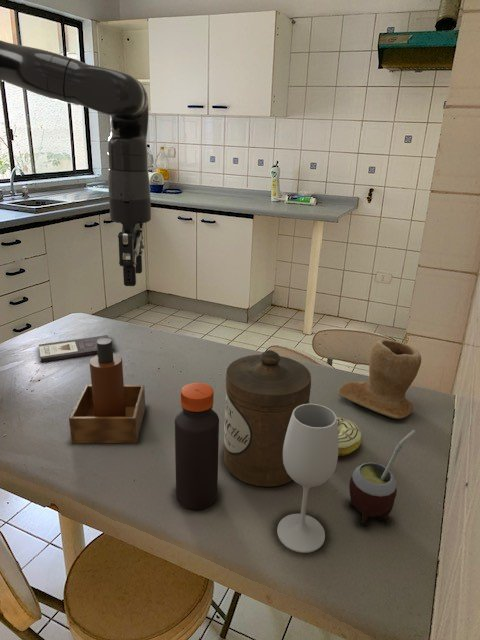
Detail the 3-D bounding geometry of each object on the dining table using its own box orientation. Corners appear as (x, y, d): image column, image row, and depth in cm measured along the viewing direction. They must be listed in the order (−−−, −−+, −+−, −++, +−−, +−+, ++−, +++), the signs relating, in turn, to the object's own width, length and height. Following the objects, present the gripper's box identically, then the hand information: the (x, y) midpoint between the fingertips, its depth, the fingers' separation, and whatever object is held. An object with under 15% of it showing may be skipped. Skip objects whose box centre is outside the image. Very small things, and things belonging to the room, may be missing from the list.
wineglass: (315, 510, 74) (329, 398, 66) (334, 549, 67) (352, 429, 60) (270, 517, 73) (279, 402, 65) (284, 557, 66) (296, 435, 58)
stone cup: (421, 406, 104) (434, 346, 99) (398, 428, 96) (411, 364, 90) (360, 382, 114) (369, 326, 108) (335, 400, 105) (343, 341, 100)
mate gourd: (339, 517, 73) (351, 439, 67) (355, 488, 79) (368, 414, 74) (386, 539, 70) (403, 458, 64) (399, 506, 76) (416, 430, 70)
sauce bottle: (92, 430, 91) (83, 347, 84) (99, 413, 96) (91, 334, 89) (123, 430, 91) (117, 348, 84) (128, 413, 97) (123, 334, 90)
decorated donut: (327, 420, 98) (329, 405, 97) (370, 445, 90) (373, 429, 89) (293, 438, 92) (295, 422, 90) (336, 467, 84) (339, 450, 83)
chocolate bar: (113, 348, 124) (40, 358, 116) (113, 351, 124) (41, 362, 117) (107, 335, 131) (38, 344, 124) (107, 338, 132) (39, 347, 124)
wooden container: (222, 435, 92) (225, 333, 84) (296, 434, 93) (306, 334, 85) (224, 488, 78) (228, 373, 70) (311, 487, 79) (324, 374, 71)
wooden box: (71, 443, 88) (68, 418, 86) (87, 407, 99) (85, 384, 97) (136, 443, 89) (135, 418, 86) (145, 407, 100) (144, 385, 98)
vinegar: (221, 484, 79) (224, 382, 71) (211, 514, 73) (213, 405, 65) (183, 478, 80) (182, 376, 73) (170, 506, 74) (167, 398, 66)
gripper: (116, 190, 92) (120, 268, 98) (100, 199, 79) (106, 289, 85) (154, 191, 93) (156, 269, 99) (145, 201, 80) (148, 290, 86)
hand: (133, 279), depth 92 cm, fingers open, 8 cm apart
